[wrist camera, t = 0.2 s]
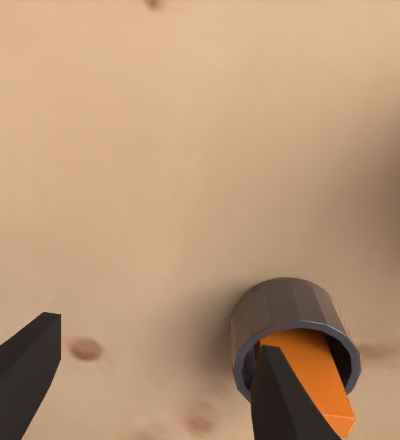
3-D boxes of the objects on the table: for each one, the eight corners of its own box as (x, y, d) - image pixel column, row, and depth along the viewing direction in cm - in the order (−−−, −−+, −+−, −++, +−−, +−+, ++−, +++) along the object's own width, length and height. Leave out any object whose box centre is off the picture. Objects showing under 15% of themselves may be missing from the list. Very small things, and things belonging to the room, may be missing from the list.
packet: (314, 340, 25) (346, 438, 19) (251, 330, 25) (262, 426, 19) (320, 323, 25) (355, 418, 18) (255, 313, 25) (269, 406, 18)
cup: (321, 370, 27) (339, 423, 23) (222, 355, 27) (223, 407, 23) (352, 286, 24) (378, 331, 20) (242, 269, 24) (247, 312, 20)
